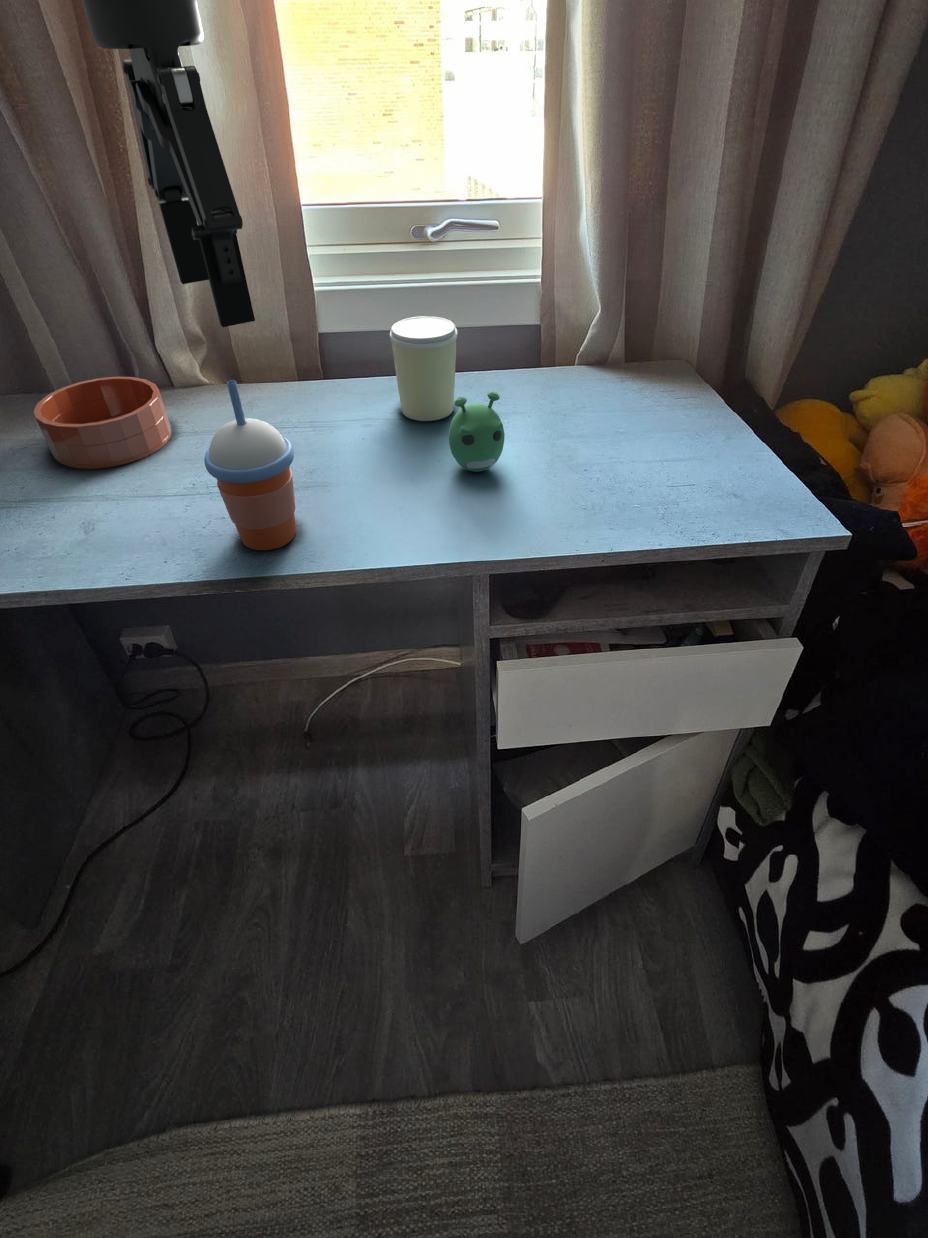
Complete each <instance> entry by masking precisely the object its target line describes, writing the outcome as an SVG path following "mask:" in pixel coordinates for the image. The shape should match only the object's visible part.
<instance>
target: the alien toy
mask: <svg viewBox="0 0 928 1238" xmlns="http://www.w3.org/2000/svg"><path fill="white" fill-rule="evenodd" d="M486 395H487V397H488V399H489V402H488V404H484V403H479V402H478V403H469V404H467V402H468V400H467V398H466V397H464V396H459V397H457V398H456V399H455V400H454V407H458V408H460V409H459V410H458V411H457V412H456V413H455V415H454V416H453V418H452V420H451V423H450V425H449V426H450V427H449V430H448V444H449V449H450V452H451V455H452V457H453V458H454V460H455V461H456V463H457V464H458V465H459V466H460V467H461V468H463V469H465V470H467V471H469V472H474V473H475V472H483V471H486V470H489V469H490V468H491V467H493V466H494V465H495V464H496V463H497V462H498V460H499V459H500V457H501V455H502V453H503V450H504V445H505V429H504V424H503V421H502V420H501V418H500V415H499V414H498V413H497V411H495V410H494V408H492V407H493V404H494V402H496V401H499V400H500V394H498V392H497V391H488V392H487V394H486ZM466 404H467V405H466Z"/></svg>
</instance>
